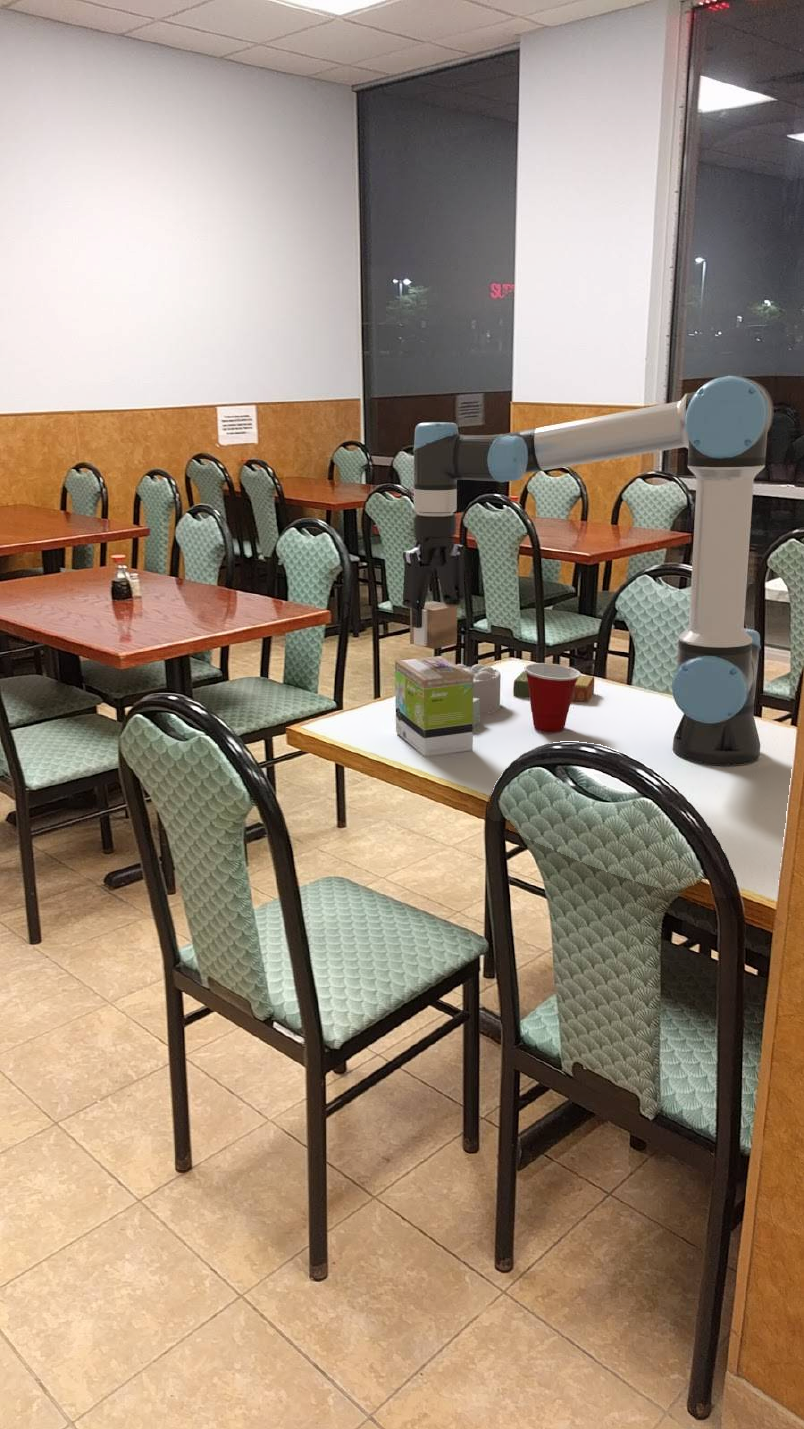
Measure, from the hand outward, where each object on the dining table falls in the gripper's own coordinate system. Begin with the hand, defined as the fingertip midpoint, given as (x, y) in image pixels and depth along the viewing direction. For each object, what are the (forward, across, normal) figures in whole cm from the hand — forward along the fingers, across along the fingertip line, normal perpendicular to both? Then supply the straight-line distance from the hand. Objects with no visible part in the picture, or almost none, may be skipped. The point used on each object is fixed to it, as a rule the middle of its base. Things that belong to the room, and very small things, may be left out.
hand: (433, 641), depth 197 cm
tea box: (+19, 0, 0) cm, 19 cm away
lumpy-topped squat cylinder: (+19, -22, -10) cm, 31 cm away
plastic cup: (+19, -22, +10) cm, 31 cm away
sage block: (+19, -12, -4) cm, 23 cm away
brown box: (0, 0, 0) cm, 0 cm away
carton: (+20, -42, -5) cm, 46 cm away
